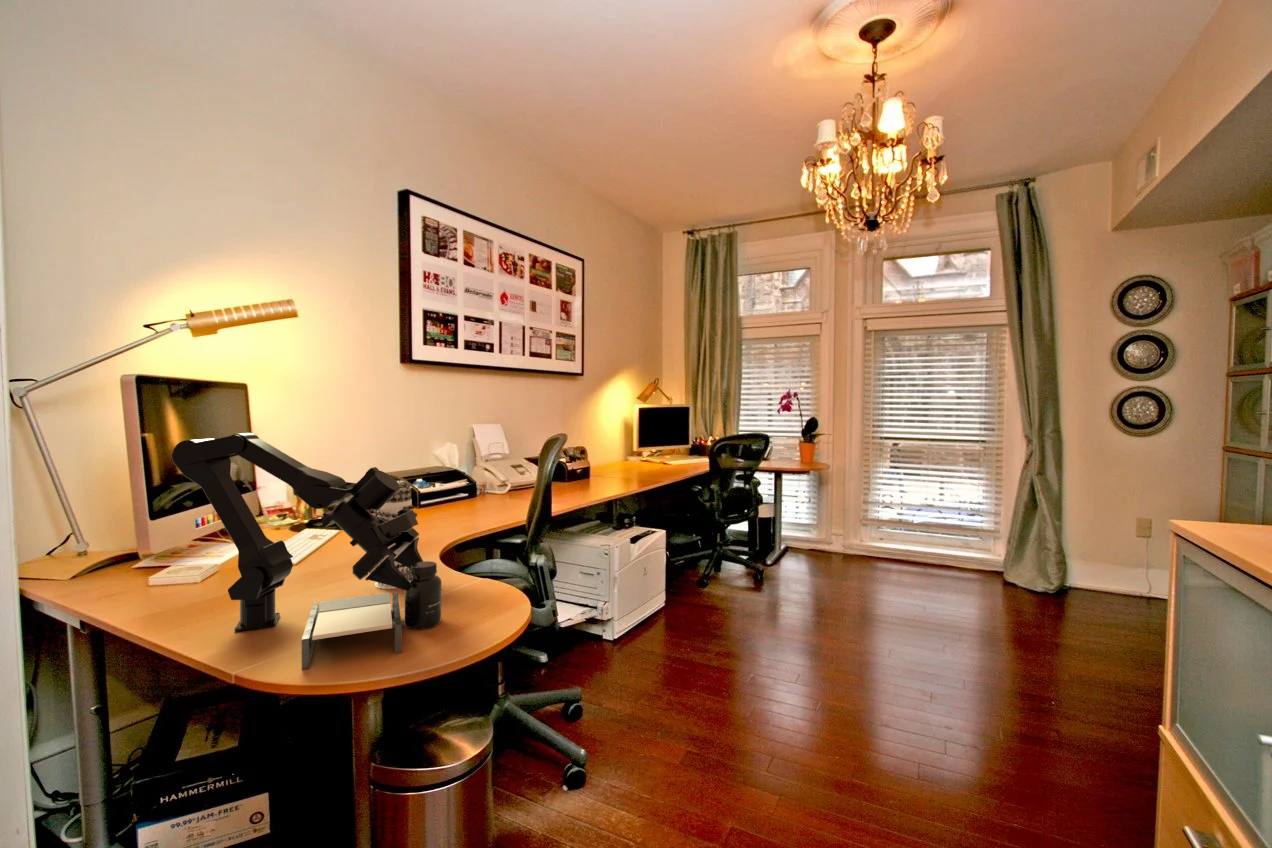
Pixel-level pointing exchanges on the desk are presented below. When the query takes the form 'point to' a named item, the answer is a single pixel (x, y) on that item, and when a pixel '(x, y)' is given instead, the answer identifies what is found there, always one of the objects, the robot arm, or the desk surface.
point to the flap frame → (309, 629)
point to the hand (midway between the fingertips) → (418, 581)
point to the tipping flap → (353, 616)
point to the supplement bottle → (423, 597)
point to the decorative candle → (390, 512)
